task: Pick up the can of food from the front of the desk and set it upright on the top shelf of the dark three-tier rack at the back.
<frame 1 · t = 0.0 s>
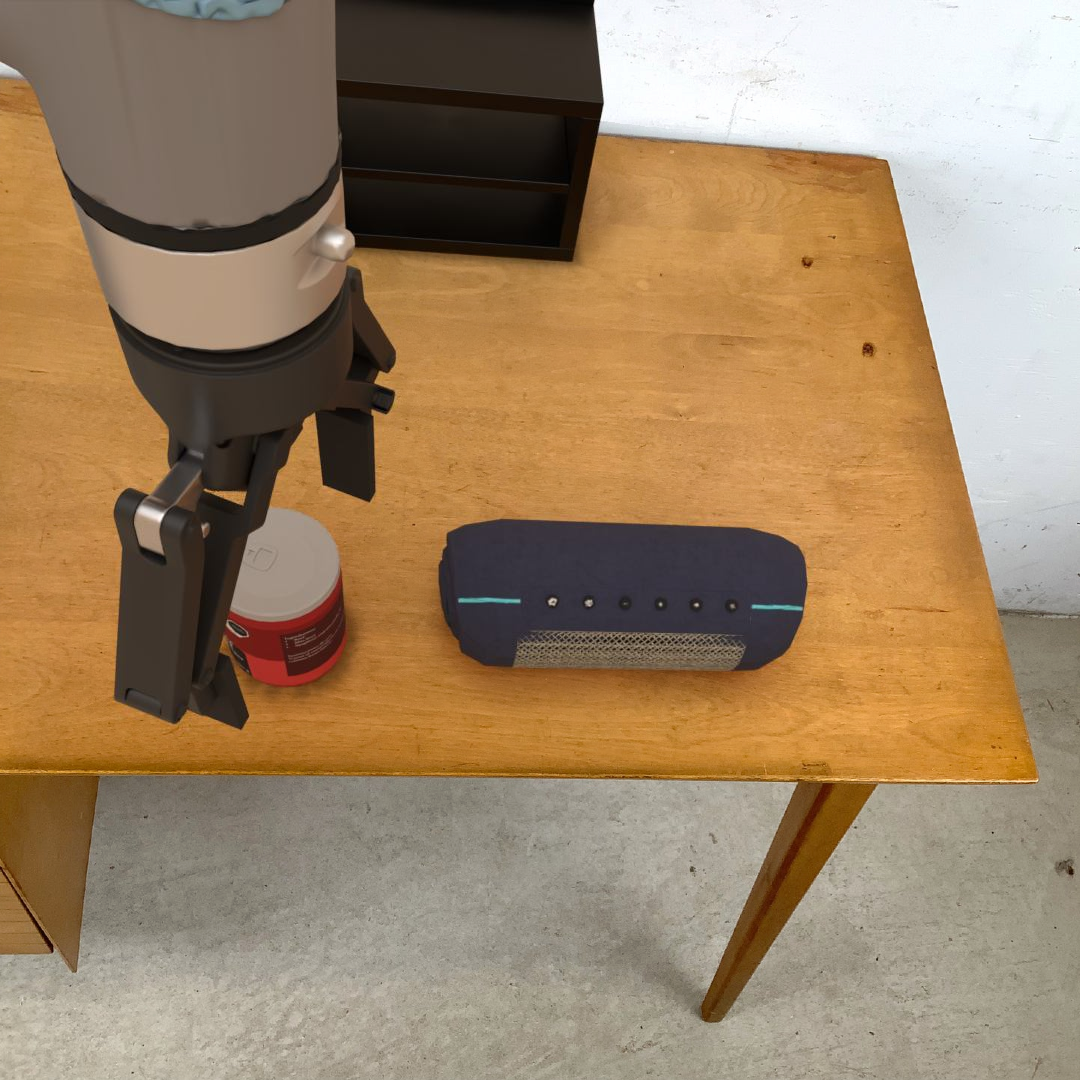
hand: (288, 592, 50), 20 cm above the table, tool pointing down, fingers open, 13 cm apart
coffee cup: (219, 197, 92), on the table
sphere: (213, 287, 86), on the table
rack: (442, 200, 95), on the table
canned food: (289, 640, 70), on the table
portable speaker: (608, 629, 74), on the table
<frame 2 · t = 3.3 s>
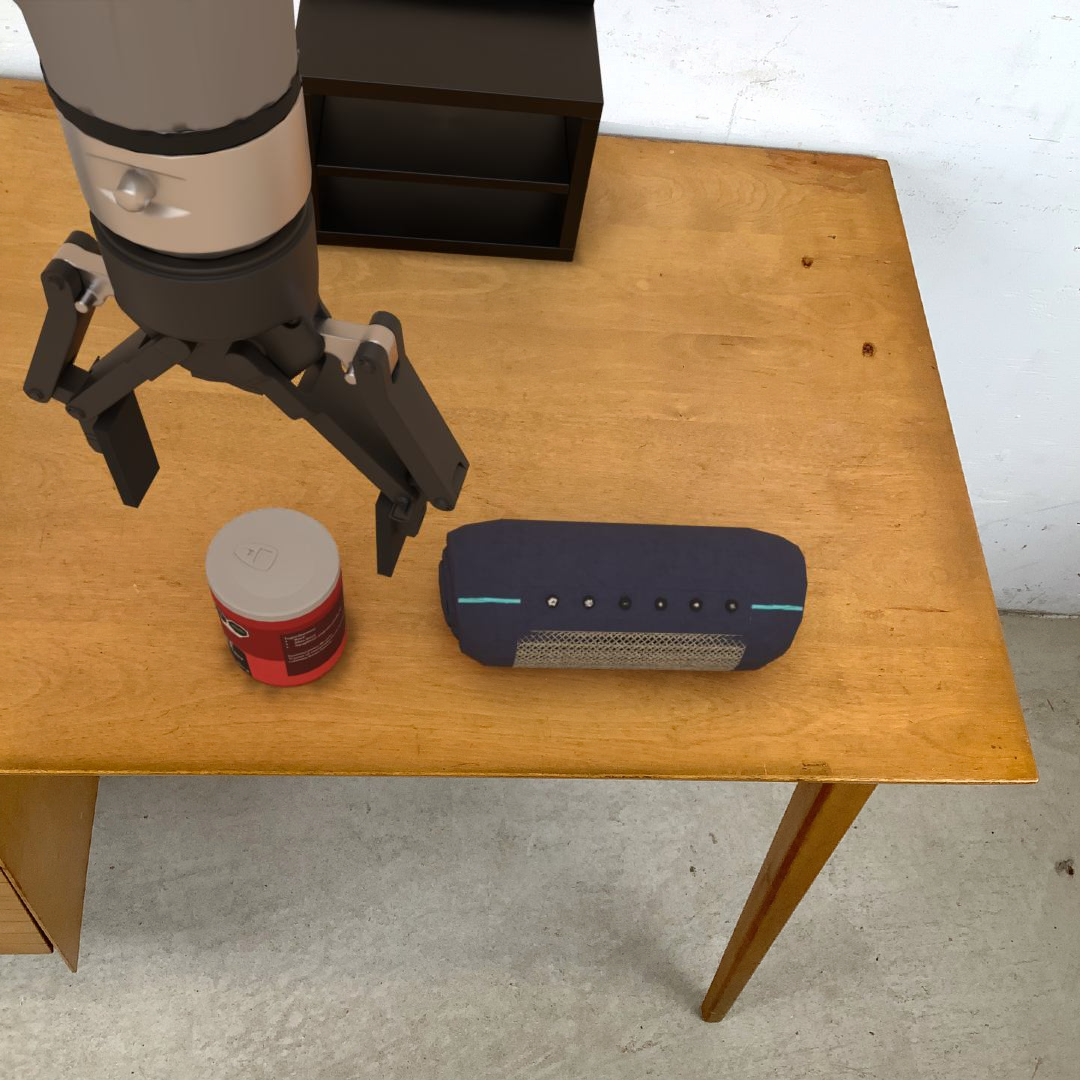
hand: (267, 520, 53), 19 cm above the table, tool pointing down, fingers open, 13 cm apart
nothing on the table moved.
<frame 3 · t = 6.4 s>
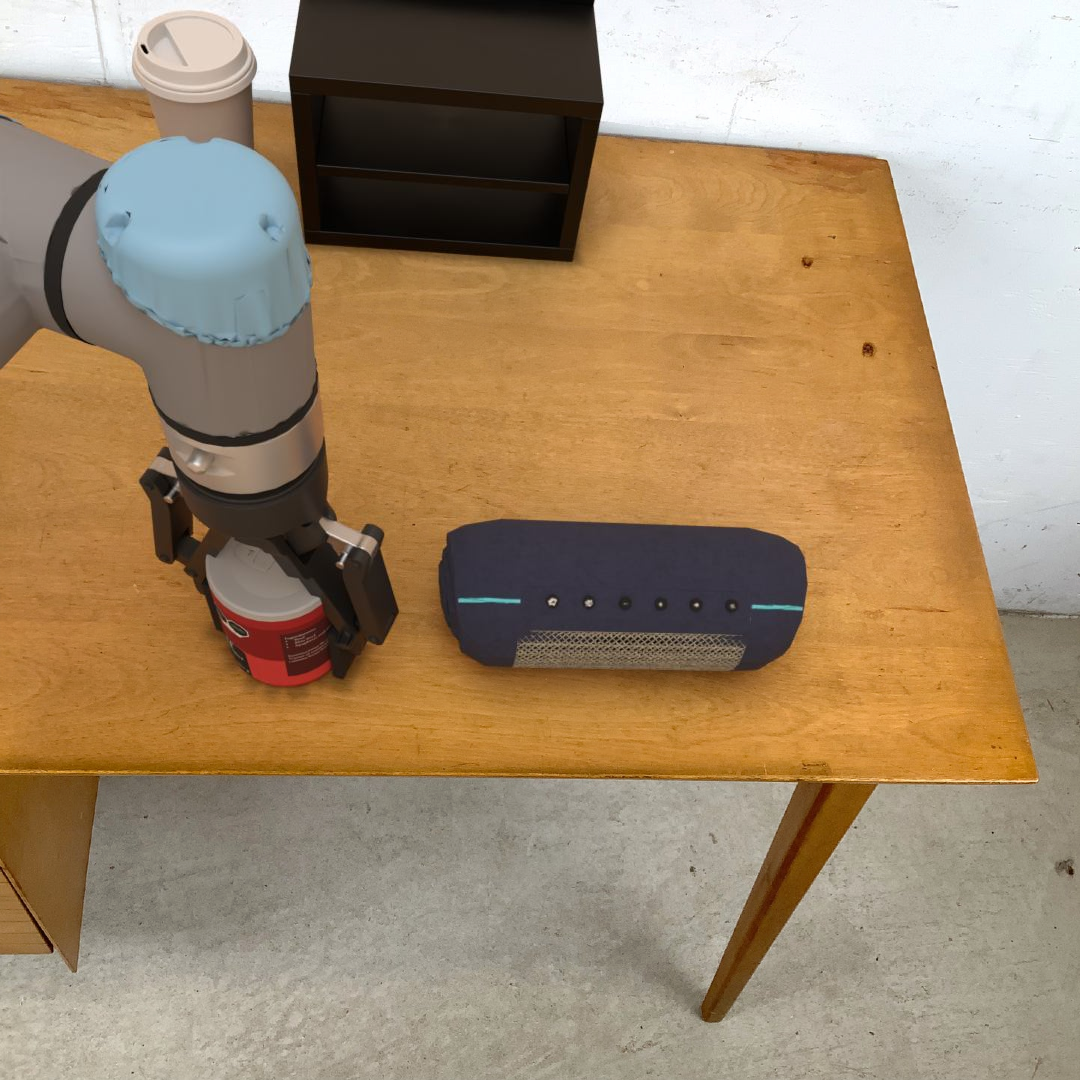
hand: (288, 637, 70), 0 cm above the table, tool pointing down, fingers closed on canned food, 8 cm apart
canned food: (289, 640, 70), on the table, touching gripper
everything else where it was.
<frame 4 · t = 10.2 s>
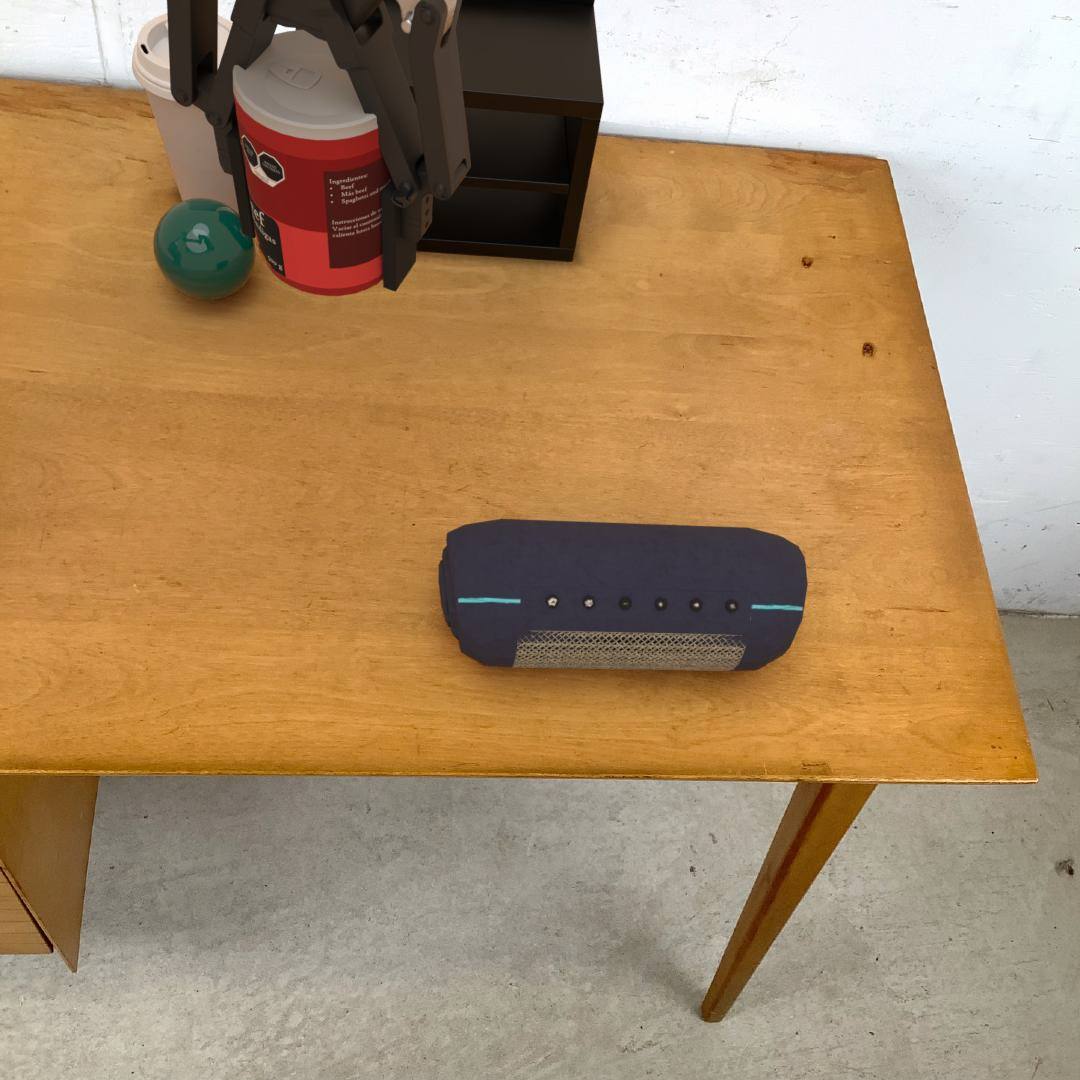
hand: (329, 247, 57), 23 cm above the table, tool pointing down, fingers closed on canned food, 8 cm apart
canned food: (329, 253, 58), point 23 cm above the table, touching gripper
everything else where it was.
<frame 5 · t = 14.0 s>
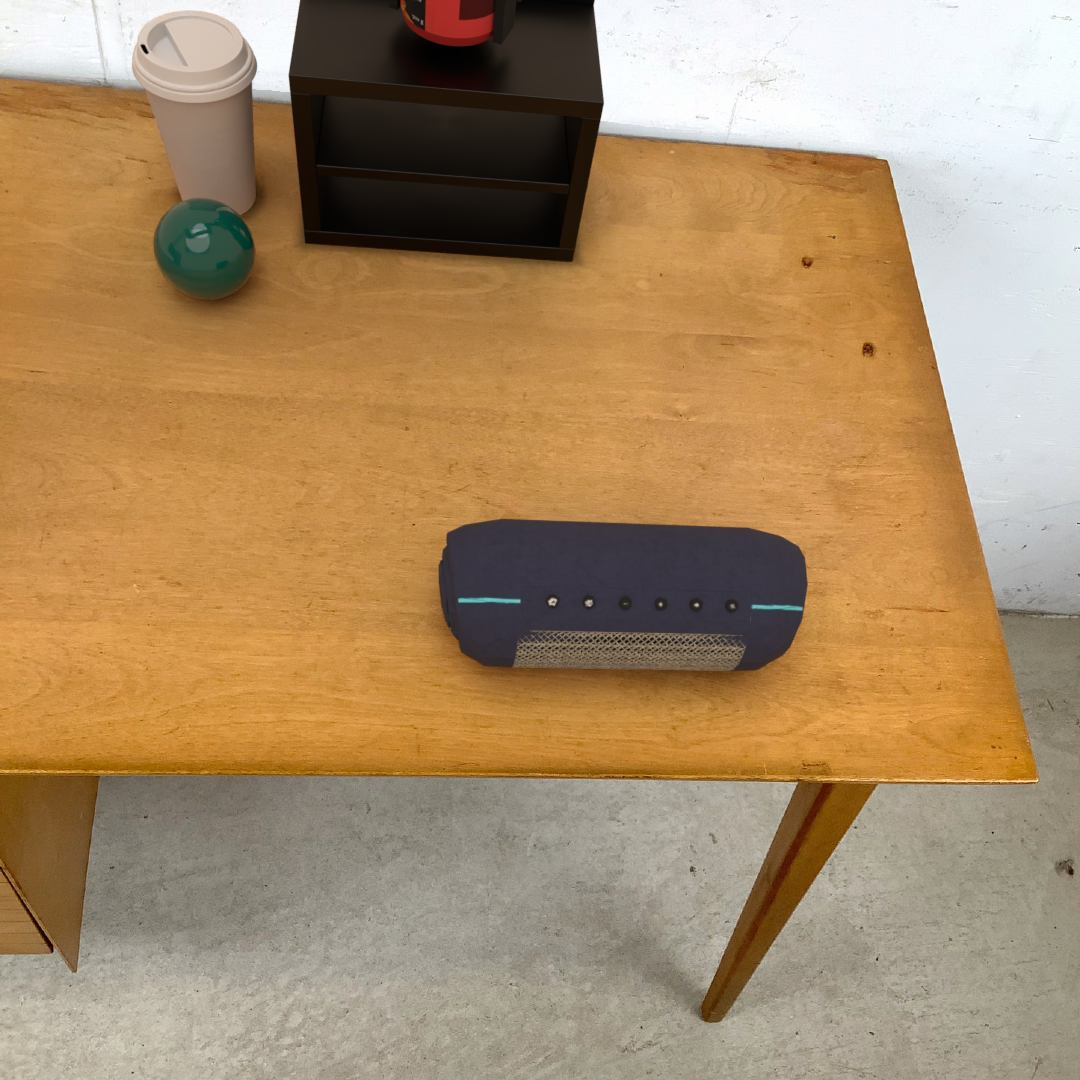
hand: (451, 16, 79), 18 cm above the table, tool pointing down, fingers closed on canned food, 8 cm apart
canned food: (451, 22, 80), point 18 cm above the table, touching gripper
everything else where it was.
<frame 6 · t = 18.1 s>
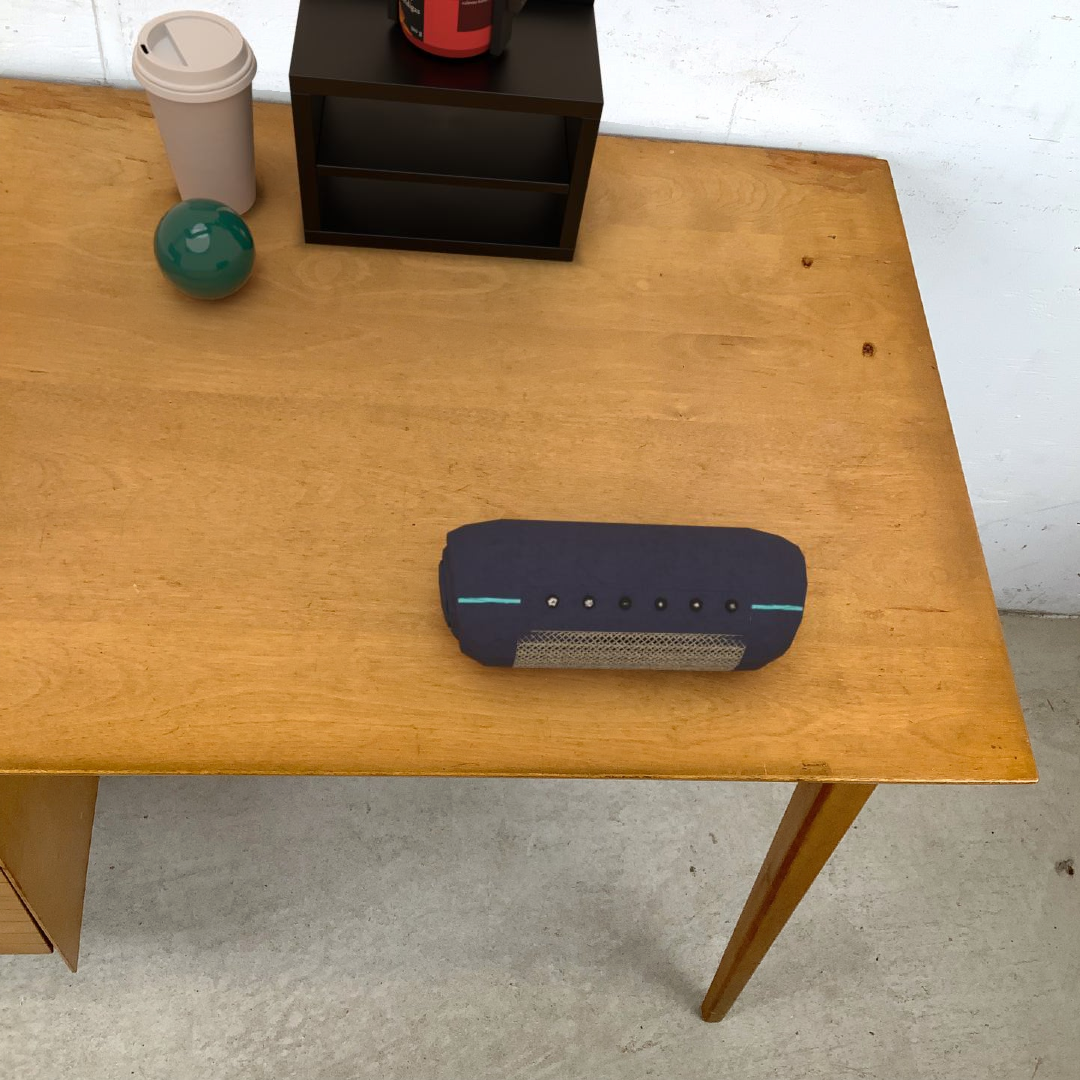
hand: (449, 28, 80), 17 cm above the table, tool pointing down, fingers closed on canned food, 8 cm apart
canned food: (449, 33, 81), point 17 cm above the table, touching gripper
everything else where it was.
when the fingers open (18 cm above the table, at t = 21.9 s): canned food drops 1 cm, resting on rack.
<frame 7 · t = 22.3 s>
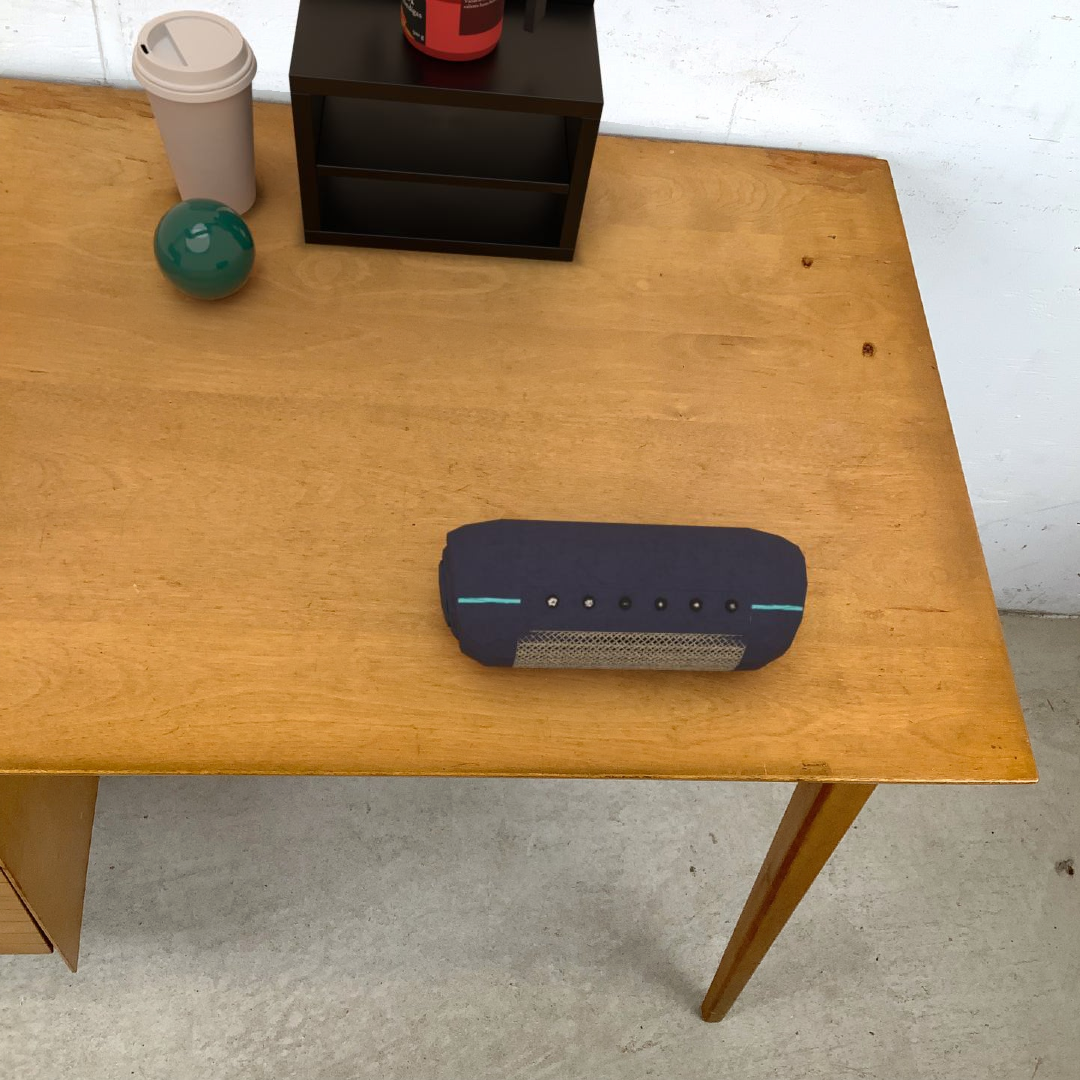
canned food: (450, 36, 81), point 16 cm above the table, touching rack
everything else where it was.
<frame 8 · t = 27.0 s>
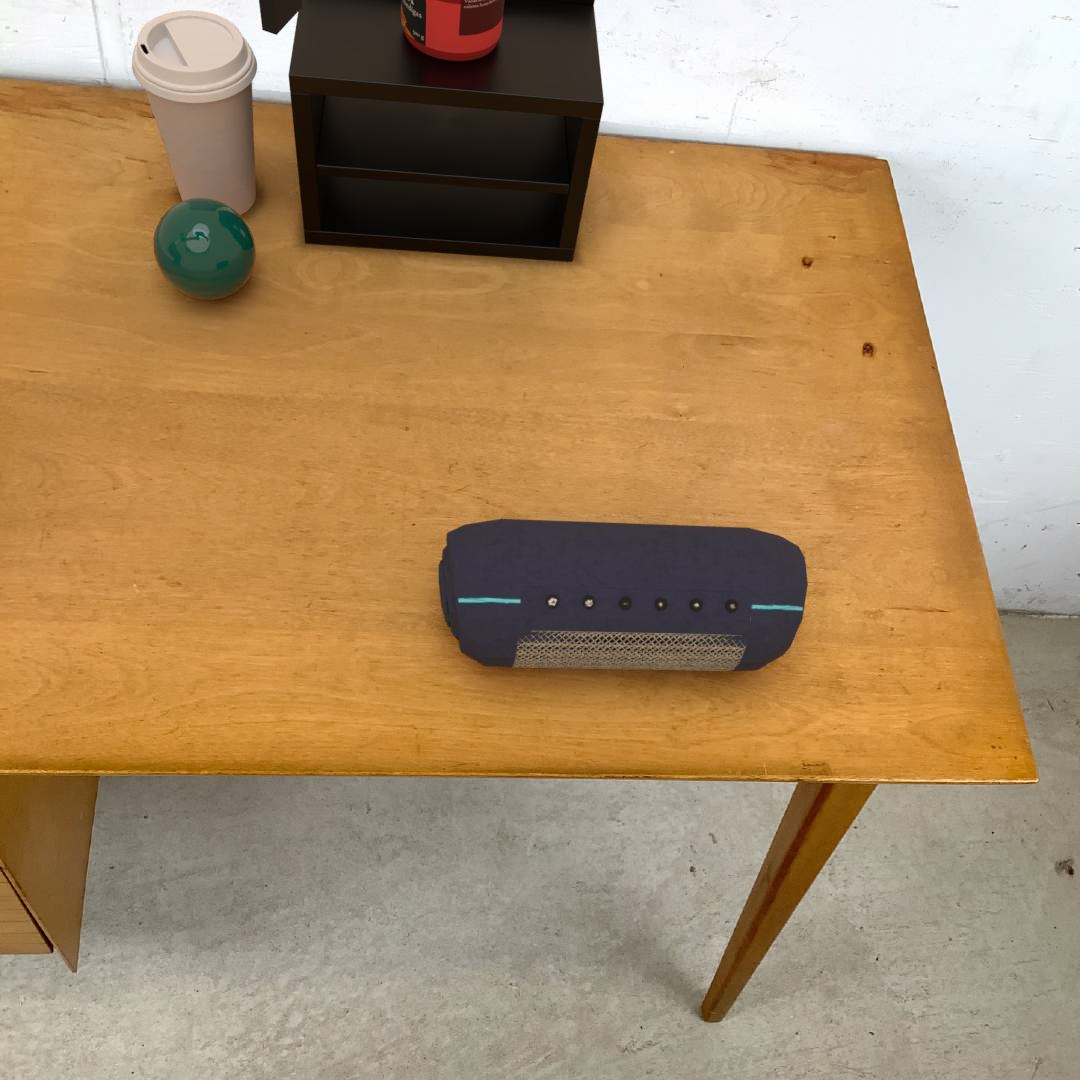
nothing on the table moved.
at the end: canned food inside the target area on the rack (0.1 cm from its centre), point 16.3 cm above the rack's base; canned food tilted 0°; the gripper is holding nothing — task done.
